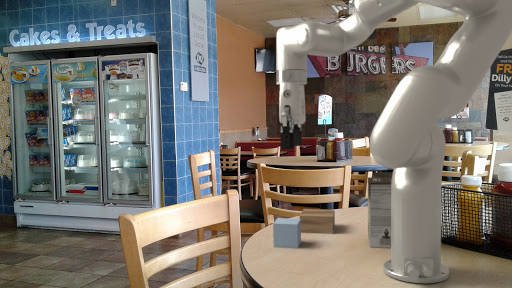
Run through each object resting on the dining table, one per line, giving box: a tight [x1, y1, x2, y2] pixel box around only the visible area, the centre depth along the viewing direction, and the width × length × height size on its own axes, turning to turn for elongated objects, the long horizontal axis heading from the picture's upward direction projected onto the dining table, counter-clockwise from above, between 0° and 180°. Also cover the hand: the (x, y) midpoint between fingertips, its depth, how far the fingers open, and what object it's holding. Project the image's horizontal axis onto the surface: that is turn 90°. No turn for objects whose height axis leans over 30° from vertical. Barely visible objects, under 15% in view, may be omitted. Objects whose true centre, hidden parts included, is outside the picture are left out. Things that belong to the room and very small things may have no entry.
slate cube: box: [272, 217, 302, 249], centre depth 114 cm, size 6×6×6 cm
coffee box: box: [367, 176, 392, 249], centre depth 113 cm, size 9×6×16 cm
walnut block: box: [299, 208, 336, 235], centre depth 128 cm, size 9×9×5 cm
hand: (291, 147), depth 113 cm, fingers open, 9 cm apart
